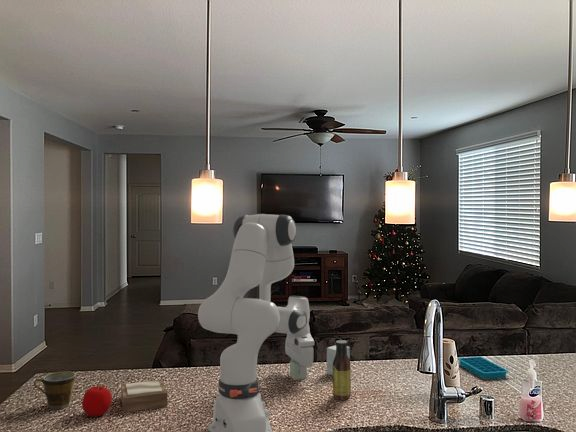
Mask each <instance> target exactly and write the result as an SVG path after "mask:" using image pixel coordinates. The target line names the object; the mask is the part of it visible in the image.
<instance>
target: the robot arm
mask: <svg viewBox="0 0 576 432" xmlns="http://www.w3.org/2000/svg"><path fill="white" fill-rule="evenodd" d="M232 232H233V236H234V241H233V246H232V250H231V255H230V259H229V264H228V269H227V273H226V275H225V278H224V280H223V281H222V283H221V285H220V286H219V287H218V289H217V290H216V291H214V293H213V294H211V295H210V296H208V297H206V298H205V299H203V301H202V303H200V305H199V308H198V312H197V317H198V318H197V319H198V322H199V325H200V326H201V327H202V328H203V329H205V330H207V331H210V332H213V333H218V334H219V333H220V334H231V335H237V340H236V343H234V344H231V345H230V346H228V347H226V348H225V349H224V350H223V351H222V352H221V354H220V358H219V360H220V361H219V363H220V364H219V365H220V366H219V367H220V369H219V377H220V378H218V379H219V380H218V385H217V386H218V396H217V397H216V398H215V399H214V401H213V411H212V412H213V413H212V414H213V415H212V423H210V424H208V426H207V431H208V432H273V429H272V426H271V423H270V421H269V419H270V418H271V416H270V415H271V413H270V410H269V409H264V408H265V406H266V401H263V400H262V394H261V392H260V388H259V387H260V383H259V379H258V377H257V375H258V374H257V373H258V371H257V369H258V368H257V367H258V356H259V351H260V348H261V347H262V345H263V343H264V342H265V341H266V339H267V338H269V337H270V336H271V335H272V334H274V333H279V334H286V338H285V345H284V347H285V348H284V353H285V355H287V356H288V357H289V358H290V361H293V360H295V361H296V362H298V363H299V366H300V369H299V374H300V375H304V370H305V367H307V368H310V367H312V366H313V363H314V346H315V340H314V338H313V337H312V335H311V331H310V329H311V328H310V324H309V322H310V318H311V316H310V315H311V313H310V311H311V310H310V303H309V299H308V297H306V296H301V295H290V296H289V297H288V300H287V305H285V306H277V305H276V304H275V303H274V302H272V301H271V300H272V299H271V297H272V296H271V295H272V291H271V288H272V284H274V283H276V282H279V281H282V280H284V279H285V278H287V277H289V275H291V274H292V272H293V270H294V268H295V257H294V251H293V245H292V243H293V242H294V240H295V238H296V236H297V227H296V222H295V220H294V219H293V218H292V216H290V215H287V214H268V213H267V214H266V213H256V214H250V215H249V214H244V215H241V216H239V217H238V218H237V219H236V220H235V221H234V223H233V227H232ZM255 287H256V298H249V297H244V296H245V295H246V294H247V293H248V292H249V291H250V290H252V289H255Z"/></svg>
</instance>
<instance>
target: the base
mask: <svg viewBox="0 0 576 432" xmlns="http://www.w3.org/2000/svg"><path fill="white" fill-rule="evenodd" d="M120 400H121V405H122V410H123V411H122V412H123V413H128V412H129V413H130V412H137V411H143V410H151V409H157V408H165V407H168V390H167V389H166V386H165V384H164V381H163V379H162V378H161V379H155V380H154V379H153V380H145V381H137V382H130V383H121V384H120Z"/></svg>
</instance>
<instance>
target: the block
mask: <svg viewBox="0 0 576 432" xmlns="http://www.w3.org/2000/svg"><path fill="white" fill-rule="evenodd" d="M299 369H300V366H299V363H298V362H296V361H295V360H293V361H291V360H290V361H289V377H290V378H292V379H293V380H294V381H297V380H298V379H299V380H306V379H308V378H307V377H308V375H307V374H308V370H307V369H308V367H305V370H304V375H300V374H299Z"/></svg>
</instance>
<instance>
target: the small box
mask: <svg viewBox="0 0 576 432" xmlns="http://www.w3.org/2000/svg"><path fill="white" fill-rule="evenodd" d="M350 350H351V348H350V346H348V345H347V356H348V357H349V359H350V360H351V357H350V353H351V352H350ZM335 355H336V344H335V345H332V346H328V347H326V374H328V375H331V376H333V361H334V358H335Z"/></svg>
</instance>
